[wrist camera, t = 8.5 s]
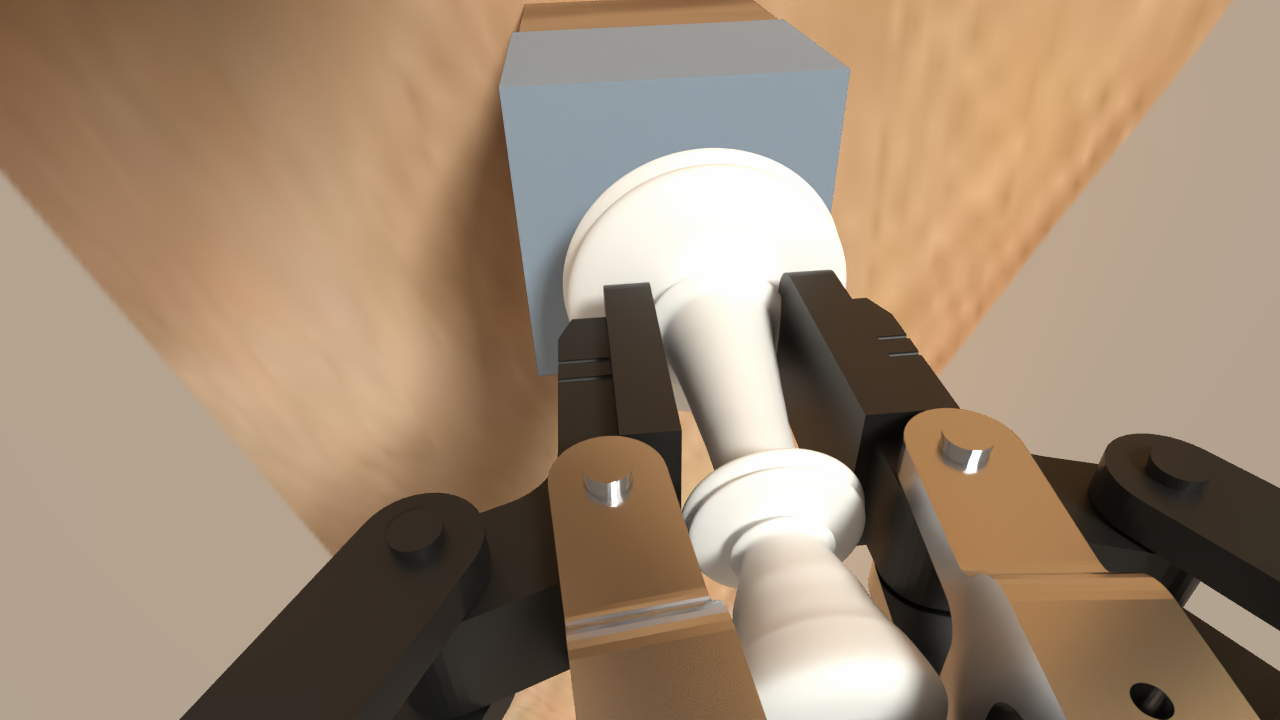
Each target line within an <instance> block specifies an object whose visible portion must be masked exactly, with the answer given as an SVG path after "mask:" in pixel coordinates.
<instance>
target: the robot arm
mask: <svg viewBox="0 0 1280 720" xmlns="http://www.w3.org/2000/svg"><path fill="white" fill-rule="evenodd" d="M778 292H779V294H780V295H781V317H780V330H779V339H778V347H777V354H776V356H777V362H778V368H779V373H780V379H781V384H782V390H783V396H784V401H785V406H786V411H787V416H788V422H789V424H790V427H791V429H792V432H793V434H794V437H795V439H796V442H797V444H798V447H799V449H807V450H812V451H817V452H820V453H823V454H826V455H829V456H831V457H833V458H835V459H837V460H839V461H840V462H842V463H843V464H845V465H846V466H847V467H848V468H849V469H850V470H851V471H852V472H853V473H854V474H855V475H856V477H857V478H858V480H859V481H860V483H861V486H862V488H863V492H864V496H865V515H866V520H865V527H864V531H863V534H862V536H861V539H860V540H859V542H858V544H857V546H858V545H867V547H868V549H869V552H870V554H871V555H872V558H873V561H872V566H871V570H870V574H869V578H868V587H869V592H870V596H871V599H872V600H873V601H874V602H875V603H876V605H877V606H878V607H879V608H880V609H881V610H882V611H883V613H884V614H885V615H886V616H887V617H888V618H889V619H890V621H891V622H892V623H893V624H894V625H895V626H897V627H898V628H899V629H900V630H901V631H902V632H903V633H905V634H906V635H907V636H908V638H909V639H910V640H911V641H912V642H913V644H914V645H915V646H916V647H917V648H918V649H919V651H920V652H921V653H922V654H923V655H924V657H925V658H926V659H927V660H928V662H929V663H930V664H931V666H932V667H933V668H934V670H935V671H936V673H937V674H938V676H939V677H940V679H941V681H942V683H943V685H944V687H945V690H946V693H947V697H948V715H947V719H946V720H1280V671H1278V670H1277V669H1275V668H1274V667H1272V666H1271V665H1269V664H1267V663H1266V662H1265V661H1263V660H1262V659H1260V658H1259V657H1257V656H1255V655H1254V654H1253V653H1251V652H1249V651H1248V650H1246V649H1245V648H1243V647H1242V646H1240V645H1239V644H1237V643H1236V642H1234V641H1233V640H1231V639H1230V638H1228V637H1227V636H1225V635H1224V634H1222V633H1221V632H1219V631H1217V630H1216V629H1215V628H1213V627H1212V626H1210V625H1209V624H1207V623H1206V622H1204V621H1203V620H1201V619H1199V618H1198V617H1196V616H1195V615H1193V614H1192V613H1190V612H1189V611H1187V610H1186V609H1184V608H1183V607H1184V605H1185V604H1186V602H1187V601H1188V599H1189V598H1190V596H1191V595H1192V593H1193V592H1194V590H1195V589H1196V587H1197V586H1198V584H1199V583H1200V581H1201V582H1203V583H1204V584H1206V585H1208V586H1209V587H1211V588H1212V589H1214V590H1215V591H1217V592H1219V593H1220V594H1222V595H1224V596H1225V597H1227V598H1228V599H1230V600H1232V601H1233V602H1235V603H1236V604H1238V605H1239V606H1241V607H1243V608H1244V609H1246V610H1248V611H1249V612H1251V613H1252V614H1254V615H1255V616H1257V617H1259V618H1260V619H1262V620H1263V621H1265V622H1267V623H1268V624H1270V625H1272V626H1273V627H1275V628H1276V629H1278V630H1279V631H1280V488H1278V487H1276V486H1274V485H1273V484H1271V483H1269V482H1267V481H1265V480H1263V479H1261V478H1259V477H1257V476H1255V475H1253V474H1251V473H1249V472H1247V471H1245V470H1243V469H1241V468H1239V467H1237V466H1235V465H1233V464H1231V463H1229V462H1227V461H1225V460H1223V459H1221V458H1220V457H1218V456H1216V455H1214V454H1212V453H1210V452H1208V451H1206V450H1204V449H1201V448H1199V447H1197V446H1195V445H1193V444H1190V443H1187V442H1184V441H1182V440H1178V439H1174V438H1171V437H1167V436H1161V435H1154V434H1131V435H1125V436H1122V437H1119V438H1117V439H1115V440H1113V441H1112V442H1111V443H1110V444H1109V445H1108V446H1107V448H1106V450H1105V452H1104V454H1103V456H1102V458H1101V461H1100V462H1099V464H1093V463H1086V462H1079V461H1072V460H1065V459H1058V458H1051V457H1044V456H1038V455H1033V454H1030V452H1029V451H1028V449H1027V448H1026V446H1025V445H1024V443H1023V442H1022V441H1021V439H1020V438H1019V437H1018V436H1017V435H1016V434H1015V433H1014V432H1013V431H1012V430H1010V429H1009V428H1007V427H1006V426H1005V425H1003V424H1001V423H1000V422H998V421H996V420H994V419H992V418H990V417H988V416H985V415H982V414H979V413H976V412H972V411H968V410H963V409H960V408H959V406H958V405H957V403H956V402H955V401H954V399H953V398H952V397H951V395H950V394H949V393H948V391H947V390H946V388H945V387H944V386H943V384H942V383H941V381H940V380H939V379H938V377H937V376H936V374H935V373H934V372H933V370H932V369H931V368H930V366H929V365H928V363H927V362H926V361H925V359H924V358H923V357H922V355H919V354H918V350H917V348H916V347H915V345H914V344H913V343H912V341H911V340H910V339H909V338H908V339H907V337H906V335H907V334H906V333H905V332H904V330H903V329H902V327H901V326H900V325H899V323H898V322H897V321H896V319H895V318H894V316H893V315H892V314H891V313H889V312H888V311H886V310H884V309H883V308H881V307H880V306H878V305H877V304H875V303H874V302H872V301H870V300H869V299H867V298H858V299H852V298H851V297H850V295H849V294H848V292H847V291H846V289H845V288H844V286H843V285H842V283H841V282H840V280H839V279H838V277H837V276H836V274H835V273H834V271H832V270H815V271H801V272H787V273H783V275H782V276H781V279H780V283H779V290H778ZM603 294H604V310H605V317H596V318H583V319H572V320H571V321H570V323H569V324H568V325H567V327H566V328H565V330H564V331H563V333H562V334H561V336H560V337H559V338H558V458H557V459H556V460H555V462H554V463H553V465H552V467H551V469H550V471H549V475H548V477H547V479H546V480H545V481H544V482H543V483H542V484H541V485H540V486H539V487H537V488H536V489H535V490H533V491H532V492H530V493H529V494H527V495H525V496H524V497H522V498H520V499H518V500H515V501H513V502H510V503H508V504H505V505H502V506H499V507H496V508H493V509H491V510H488V511H485V512H482V513H479V512H478V510H477V509H476V508H475V507H474V506H473V505H472V504H471V503H469V502H468V501H466V500H465V499H462V498H460V497H458V496H454V495H450V494H444V493H425V494H419V495H414V496H410V497H407V498H403V499H401V500H399V501H396V502H394V503H392V504H390V505H388V506H386V507H385V508H383V509H381V510H380V511H379V512H377V513H376V514H374V515H373V516H372V517H371V518H370V519H369V520H368V521H367V522H366V523H365V524H364V525H363V526H362V527H361V528H360V529H359V530H358V531H357V532H356V533H355V534H354V535H353V536H352V537H351V538H350V540H349V541H348V542H347V543H346V544H345V545H344V546H343V547H342V548H341V549H340V550H339V551H338V552H337V553H336V554H335V555H334V556H333V558H332V559H331V560H330V561H329V562H328V563H327V564H326V565H325V566H324V567H323V568H322V569H321V570H320V571H319V572H318V573H317V575H316V576H315V577H314V578H313V579H312V580H311V581H310V582H309V583H308V584H307V585H306V586H305V587H304V588H303V589H302V590H301V591H300V593H299V594H298V595H297V596H296V597H295V598H294V599H293V600H292V601H291V602H290V603H289V604H288V605H287V606H286V608H284V610H283V611H282V612H281V613H280V614H279V615H278V616H277V617H276V618H275V619H274V620H273V621H272V622H271V623H270V624H269V625H268V626H267V628H266V629H265V630H264V631H263V632H262V633H261V634H260V635H259V636H258V637H257V638H256V639H255V640H254V641H253V642H252V643H251V644H250V646H249V647H248V648H247V649H246V650H245V651H244V652H243V653H242V654H241V655H240V656H239V657H238V658H237V659H236V660H235V661H234V663H232V665H231V666H230V667H229V668H228V669H227V670H226V671H225V672H224V673H223V674H222V675H221V676H220V677H219V678H218V679H217V680H216V681H215V683H214V684H213V685H212V686H211V687H210V688H209V689H208V690H207V691H206V692H205V693H204V694H203V695H202V696H201V697H200V699H199V700H198V701H197V702H196V703H195V704H194V705H193V706H192V707H191V708H190V709H189V710H188V711H187V712H186V713H185V714H184V716H182V718H181V719H180V720H502V719H503V717H504V715H505V713H506V712H507V710H508V708H509V707H510V705H511V702H512V700H513V698H514V696H515V693H517V692H519V691H522V690H524V689H526V688H528V687H531V686H533V685H535V684H537V683H540V682H542V681H544V680H546V679H549V678H551V677H553V676H556V675H558V674H560V673H562V672H565V671H567V670H569V669H570V673H571V681H572V689H573V697H574V705H575V713H576V720H767V718H766V716H765V713H764V710H763V707H762V704H761V701H760V698H759V695H758V692H757V690H756V687H755V684H754V681H753V678H752V675H751V672H750V669H749V666H748V663H747V661H746V658H745V655H744V652H743V649H742V646H741V643H740V640H739V637H738V634H737V632H736V629H735V626H734V623H733V621H732V618H731V616H730V614H729V611H728V609H727V608H726V606H725V604H724V603H723V602H722V601H721V600H714V601H712V600H711V598H710V596H709V594H708V591H707V589H706V586H705V583H704V579H703V576H702V573H701V570H700V567H699V564H698V561H697V558H696V555H695V552H694V549H693V546H692V542H691V539H690V536H689V533H688V530H687V527H686V524H685V521H684V518H683V515H682V512H681V454H682V429H681V425H680V420H679V416H678V411H677V406H676V402H675V397H674V392H673V388H672V383H671V379H670V374H669V369H668V365H667V360H666V355H665V351H664V346H663V342H662V337H661V332H660V328H659V323H658V318H657V314H656V309H655V305H654V300H653V295H652V291H651V286H650V283H649V282H643V283H628V284H614V285H603Z"/></svg>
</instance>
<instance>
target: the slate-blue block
mask: <svg viewBox="0 0 1280 720" xmlns="http://www.w3.org/2000/svg"><path fill="white" fill-rule="evenodd" d="M849 75H850V68H849V67H847V66H846V65H845V64H843V63H842V62H841V61H839V60H838V59H836V58H835V57H834V56H832V55H831V54H830V53H828V52H827V51H826V50H824V49H823V48H822V47H820V46H819V45H817V44H816V43H815V42H813V41H812V40H811V39H809V38H808V37H807V36H805V35H804V34H803V33H801V32H800V31H798V30H797V29H796V28H794V27H793V26H792V25H790V24H789V23H788V22H786V21H785V20H784V19H777V20H757V21H736V22H716V23H695V24H674V25H654V26H633V27H613V28H592V29H572V30H551V31H530V32H512V35H511V39H510V43H509V48H508V52H507V56H506V60H505V64H504V68H503V72H502V76H501V81H500V85H499V93H500V100H501V107H502V115H503V122H504V129H505V137H506V144H507V151H508V159H509V166H510V173H511V181H512V188H513V195H514V203H515V210H516V217H517V225H518V232H519V239H520V247H521V254H522V261H523V269H524V276H525V283H526V291H527V298H528V305H529V313H530V320H531V327H532V335H533V342H534V349H535V357H536V364H537V371H538V376H545V375H557V374H558V338H559V337H560V336H561V334H562V333H563V331H564V330H565V328H566V327H567V325H568V324H569V323H570V322H569V318H568V315H567V311H566V307H565V302H564V295H563V271H564V264H565V259H566V255H567V251H568V248H569V245H570V242H571V240H572V237H573V235H574V233H575V231H576V229H577V227H578V225H579V223H580V221H581V220H582V218H583V217H584V215H585V214H586V212H587V211H588V210H589V208H590V207H591V206H592V205H593V203H594V202H595V201H596V200H597V199H598V198H599V197H600V196H601V195H602V194H603V193H604V192H605V191H606V190H607V189H608V188H609V187H610V186H611V185H613V184H614V183H615V182H616V181H618V180H619V179H620V178H622V177H623V176H625V175H626V174H628V173H629V172H631V171H633V170H634V169H636V168H638V167H640V166H642V165H644V164H646V163H648V162H650V161H653V160H655V159H658V158H660V157H663V156H666V155H670V154H673V153H677V152H682V151H687V150H693V149H702V148H726V149H736V150H742V151H747V152H751V153H755V154H758V155H761V156H764V157H767V158H769V159H772V160H774V161H776V162H778V163H780V164H782V165H784V166H785V167H787V168H789V169H790V170H792V171H793V172H795V173H796V174H797V175H799V176H800V177H801V178H802V179H804V180H805V181H806V182H807V183H808V184H809V185H810V186H811V187H812V188H813V189H814V190H815V192H816V193H817V194H818V195H819V197H820V198H821V199H822V201H823V202H824V204H825V205H826V207H827V209H828V210H829V212H830V214H831V208H832V200H833V193H834V186H835V178H836V171H837V164H838V156H839V149H840V142H841V134H842V127H843V119H844V112H845V105H846V97H847V90H848V83H849Z"/></svg>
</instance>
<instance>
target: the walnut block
mask: <svg viewBox="0 0 1280 720" xmlns="http://www.w3.org/2000/svg"><path fill="white" fill-rule="evenodd" d="M777 19H778V18H776V17H775V16H774V15H772V14H771V13H770V12H768V11H767V10H766V9H764V8H763V7H762V6H760V5H759V4H758V3H756V2H755V1H754V0H603V1H581V2H559V3H537V4H525V5H524V10H523V15H522V19H521V24H520V29H519V32H530V31H551V30H572V29H592V28H613V27H633V26H654V25H674V24H695V23H716V22H736V21H757V20H777Z"/></svg>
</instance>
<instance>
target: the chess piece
mask: <svg viewBox="0 0 1280 720" xmlns="http://www.w3.org/2000/svg"><path fill="white" fill-rule="evenodd" d="M815 270H832V271H834V273H835V274H836V276H837V277H838V279H839V280H840V282H841V283H842V285H843V286H844V288H845V289H846V263H845V257H844V252H843V248H842V245H841V242H840V239H839V236H838V233H837V230H836V226H835V224H834V221H833V219H832V216H831V214H830V212H829V210H828V209H827V207H826V205H825V204H824V202H823V201H822V199H821V198H820V197H819V195H818V194H817V193H816V192H815V190H814V189H813V188H812V187H811V186H810V185H809V184H808V183H807V182H806V181H805V180H804V179H802V178H801V177H800V176H799V175H797V174H796V173H795V172H793V171H792V170H790V169H789V168H787V167H785V166H784V165H782V164H780V163H778V162H776V161H774V160H772V159H769V158H767V157H764V156H761V155H758V154H755V153H751V152H747V151H742V150H736V149H726V148H702V149H693V150H687V151H682V152H677V153H673V154H670V155H666V156H663V157H660V158H658V159H655V160H653V161H650V162H648V163H646V164H644V165H642V166H640V167H638V168H636V169H634V170H633V171H631V172H629V173H628V174H626V175H625V176H623V177H622V178H620V179H619V180H618V181H616V182H615V183H614V184H613V185H611V186H610V187H609V188H608V189H607V190H606V191H605V192H604V193H603V194H602V195H601V196H600V197H599V198H598V199H597V200H596V201H595V202H594V203H593V205H592V206H591V207H590V208H589V210H588V211H587V212H586V214H585V215H584V217H583V218H582V220H581V221H580V223H579V225H578V227H577V229H576V231H575V233H574V235H573V237H572V240H571V242H570V245H569V248H568V251H567V255H566V259H565V264H564V271H563V295H564V302H565V307H566V311H567V315H568V318H569V322H570V321H571V320H572V319H583V318H596V317H605V310H604V294H603V285H614V284H628V283H643V282H649V283H650V286H651V291H652V295H653V300H654V305H655V309H656V314H657V318H658V323H659V328H660V332H661V337H662V342H663V346H664V351H665V355H666V360H667V365H668V369H669V374H670V379H671V383H672V388H673V392H674V397H675V402H676V406H677V411H690V412H692V414H693V416H694V418H695V421H696V423H697V426H698V428H699V431H700V433H701V436H702V438H703V441H704V443H705V445H706V448H707V450H708V453H709V456H710V459H711V462H712V465H713V468H714V471H713V472H712V473H710V474H709V475H708V476H707V477H705V478H704V479H703V480H702V481H701V482H700V483H699V484H698V485H697V486H696V487H695V488H694V490H693V491H692V492H691V494H690V495H689V497H688V499H687V500H686V502H685V504H684V507H683V509H682V515H683V518H684V521H685V524H686V527H687V530H688V533H689V536H690V539H691V542H692V546H693V549H694V552H695V555H696V558H697V561H698V564H699V567H700V570H701V571H702V572H703V573H704V574H705V575H706V576H708V577H709V578H711V579H712V580H714V581H716V582H718V583H720V584H723V585H725V586H728V587H732V588H736V589H737V593H736V598H735V602H734V608H733V623H734V626H735V629H736V632H737V634H738V637H739V640H740V643H741V646H742V649H743V652H744V655H745V658H746V661H747V663H748V666H749V669H750V672H751V675H752V678H753V681H754V684H755V687H756V690H757V692H758V695H759V698H760V701H761V704H762V707H763V710H764V713H765V716H766V718H767V720H946V719H947V715H948V697H947V693H946V690H945V687H944V685H943V683H942V681H941V679H940V677H939V676H938V674H937V673H936V671H935V670H934V668H933V667H932V666H931V664H930V663H929V662H928V660H927V659H926V658H925V657H924V655H923V654H922V653H921V652H920V651H919V649H918V648H917V647H916V646H915V645H914V644H913V642H912V641H911V640H910V639H909V638H908V636H907V635H906V634H905V633H903V632H902V631H901V630H900V629H899V628H898V627H897V626H895V625H894V624H893V623H892V622H891V621H890V619H889V618H888V617H887V616H886V615H885V614H884V613H883V611H882V610H881V609H880V608H879V607H878V606H877V605H876V603H875V602H874V601H873V600H872V599H871V597H870V596H869V594H868V593H867V591H866V590H865V588H864V587H863V585H862V584H861V583H860V581H859V580H858V579H857V578H856V577H855V575H854V574H853V573H852V572H851V571H850V570H849V569H848V568H847V567H846V566H845V565H844V564H843V563H842V562H843V561H844V560H845V559H846V558H847V557H848V556H849V554H851V552H852V551H853V550H854V548H855V547H856V546H857V544H858V542H859V540H860V539H861V536H862V534H863V531H864V527H865V520H866V515H865V496H864V492H863V488H862V486H861V483H860V481H859V480H858V478H857V477H856V475H855V474H854V473H853V472H852V471H851V470H850V469H849V468H848V467H847V466H846V465H845V464H843V463H842V462H840V461H839V460H837V459H835V458H833V457H831V456H829V455H826V454H823V453H820V452H817V451H812V450H807V449H799V448H795V447H794V442H793V438H792V435H791V431H790V427H789V422H788V416H787V411H786V406H785V401H784V396H783V390H782V384H781V379H780V373H779V368H778V362H777V356H776V354H777V347H778V339H779V330H780V317H781V295H780V294H779V292H778V290H779V283H780V279H781V276H782V275H783V273H787V272H801V271H815Z"/></svg>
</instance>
